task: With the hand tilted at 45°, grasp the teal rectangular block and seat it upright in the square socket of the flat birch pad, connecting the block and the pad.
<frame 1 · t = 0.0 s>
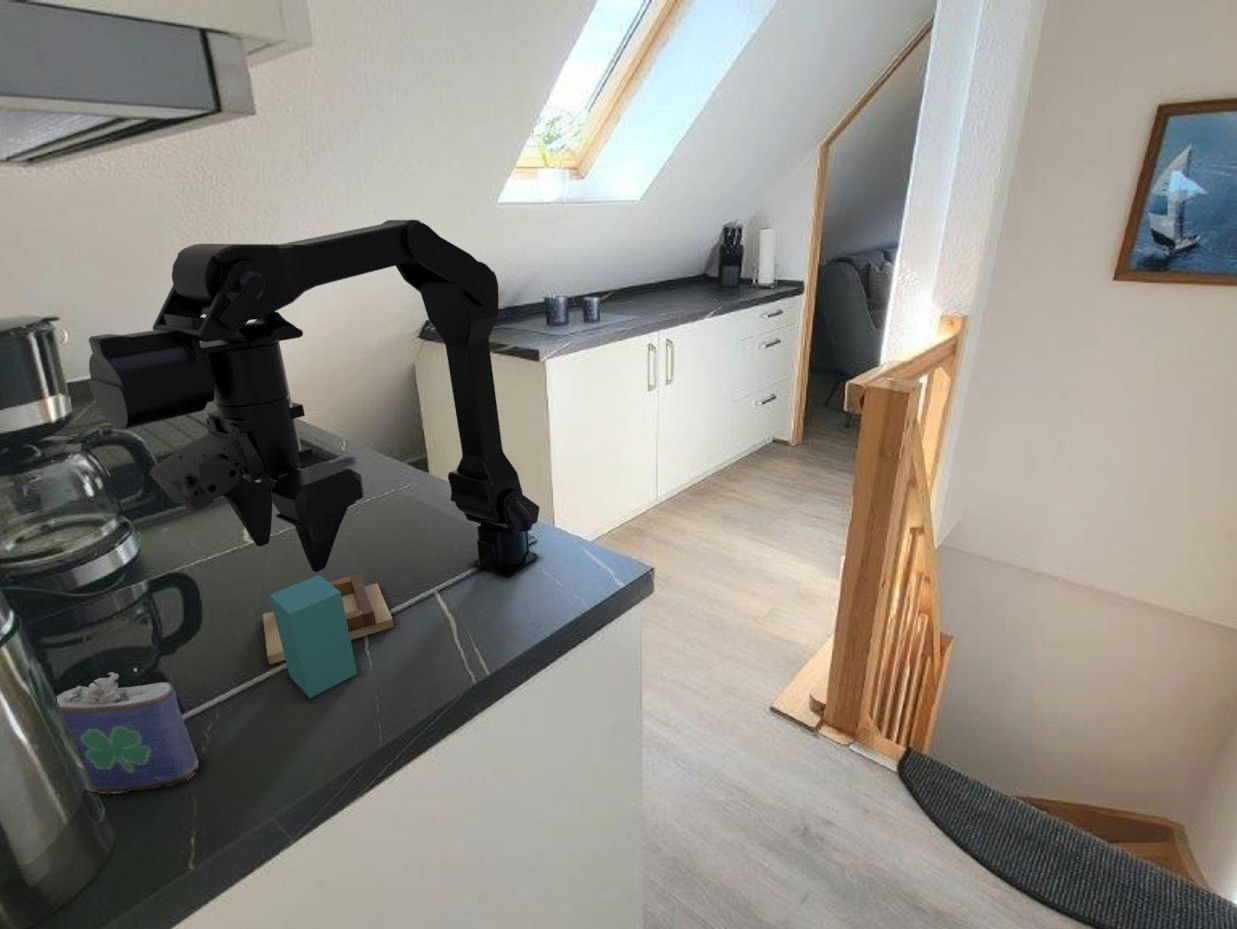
hand: (290, 556, 62), 15 cm above the worktop, tool pointing down, fingers open, 9 cm apart
socket pad: (328, 624, 76), on the worktop
teal rectangular block: (323, 675, 68), on the worktop
flask: (141, 779, 56), on the worktop
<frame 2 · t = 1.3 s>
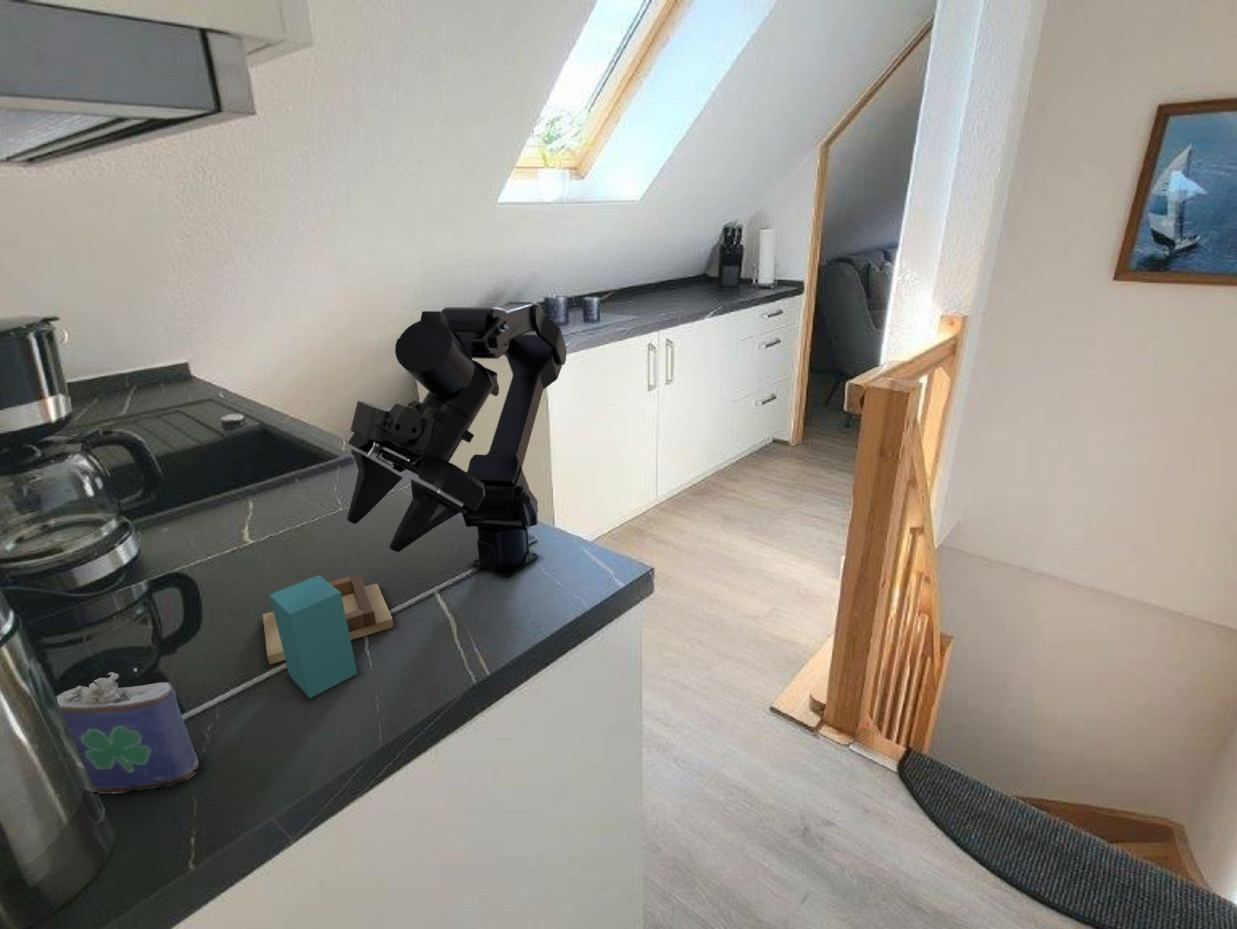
hand: (371, 535, 68), 13 cm above the worktop, tool tilted 45°, fingers open, 9 cm apart
nothing on the worktop moved.
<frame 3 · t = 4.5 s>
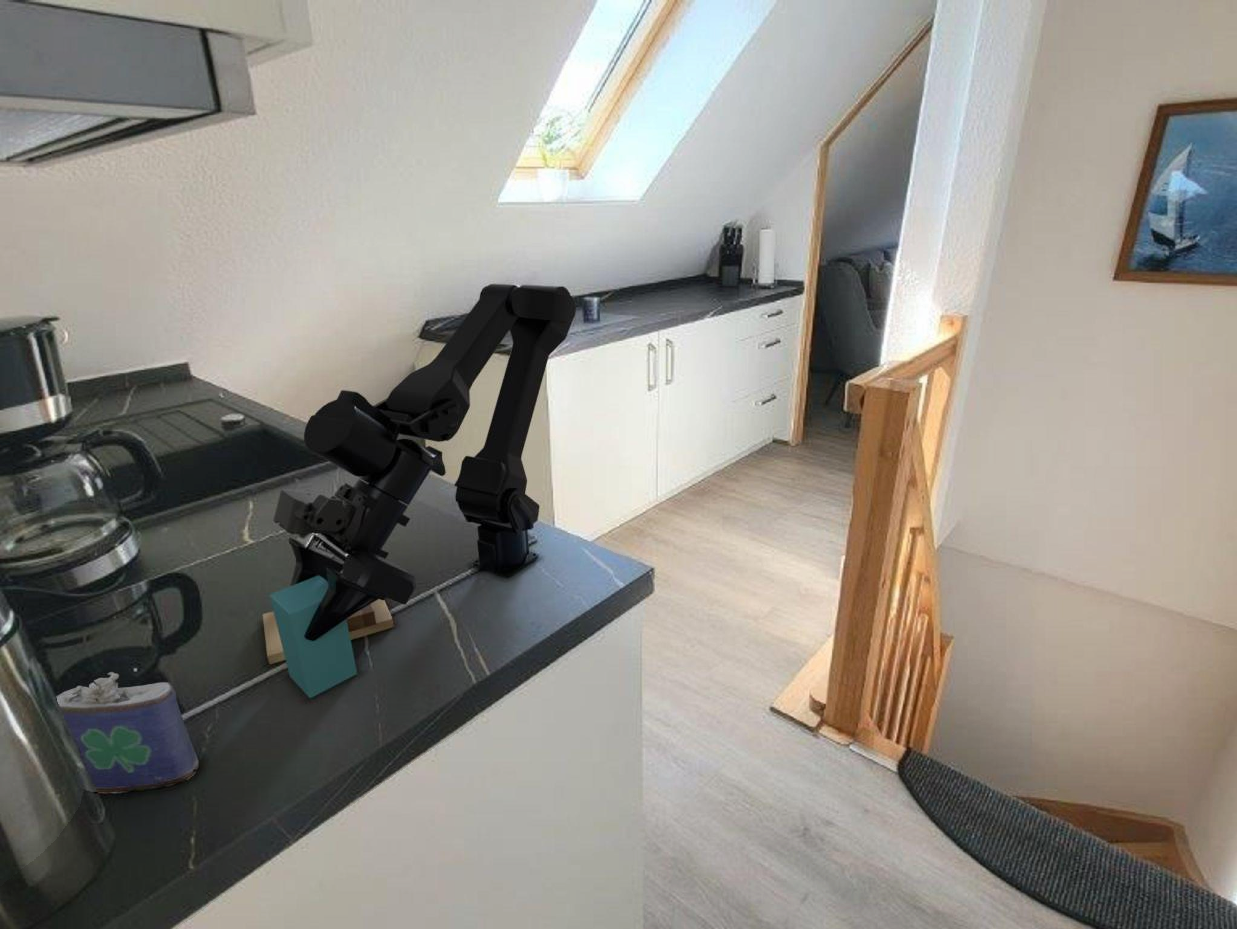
hand: (297, 628, 65), 7 cm above the worktop, tool tilted 45°, fingers closed on teal rectangular block, 5 cm apart
teal rectangular block: (323, 675, 68), on the worktop, touching gripper
everything else where it was.
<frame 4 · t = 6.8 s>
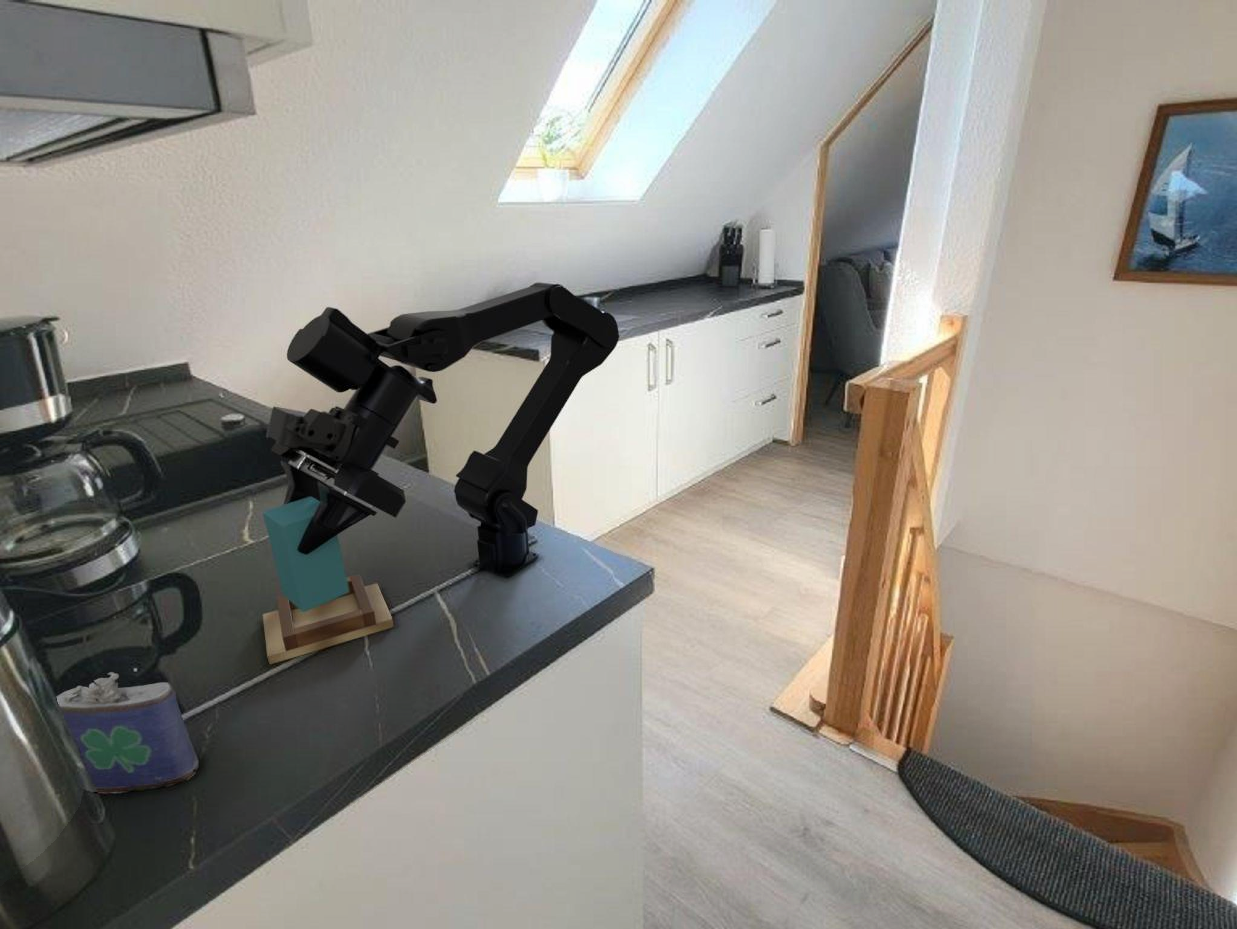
hand: (290, 544, 67), 13 cm above the worktop, tool tilted 45°, fingers closed on teal rectangular block, 5 cm apart
teal rectangular block: (316, 593, 70), point 7 cm above the worktop, touching gripper
everything else where it was.
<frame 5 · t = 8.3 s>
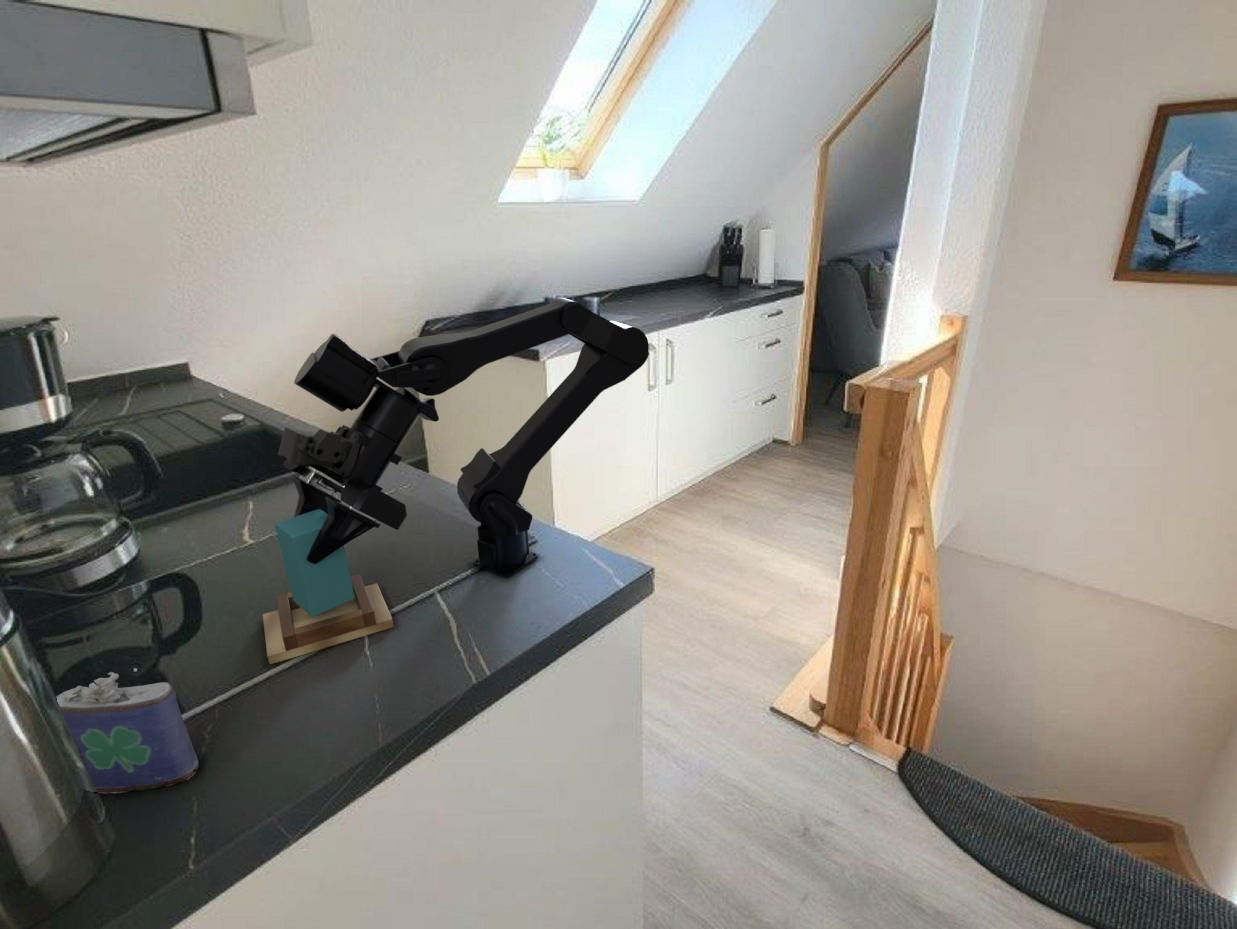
hand: (300, 554, 72), 10 cm above the worktop, tool tilted 45°, fingers closed on teal rectangular block, 5 cm apart
teal rectangular block: (324, 599, 75), point 3 cm above the worktop, touching gripper
everything else where it was.
when the fingers open (8 cm above the worktop, at t = 9.4 s): teal rectangular block stays where it is, resting on socket pad.
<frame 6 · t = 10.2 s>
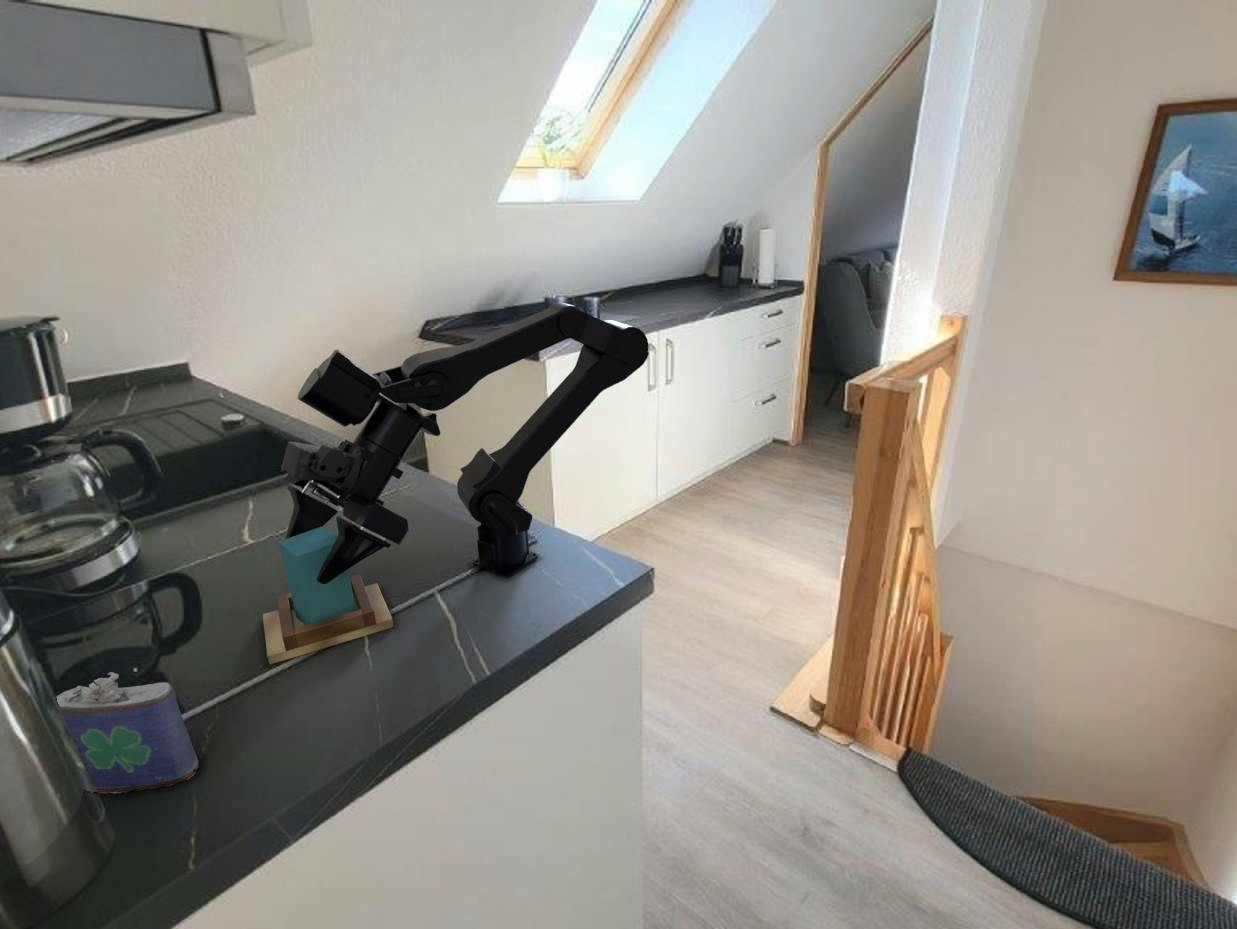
hand: (302, 567, 72), 8 cm above the worktop, tool tilted 45°, fingers open, 9 cm apart
teal rectangular block: (326, 616, 76), point 1 cm above the worktop, touching socket pad
everything else where it was.
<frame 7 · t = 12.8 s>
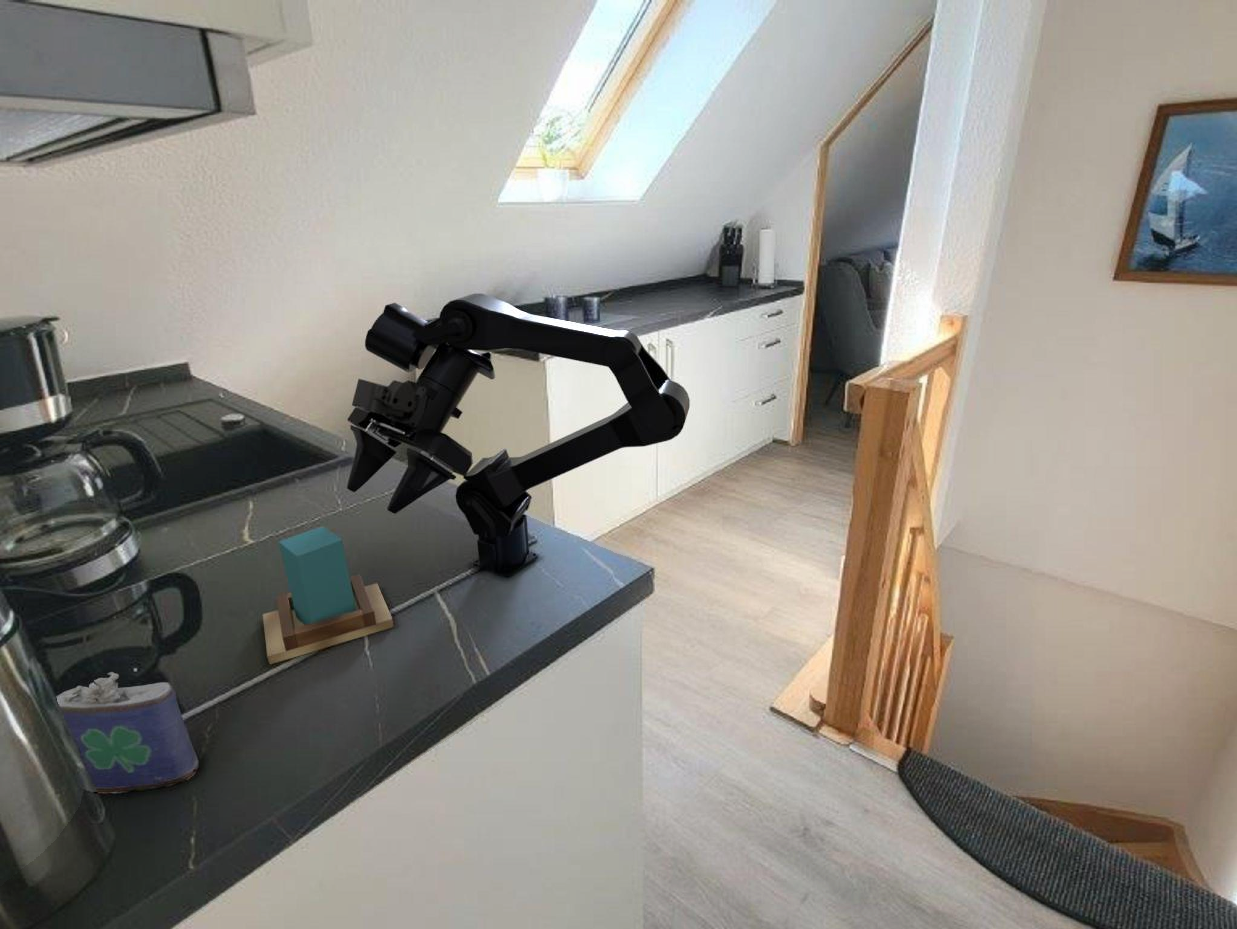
hand: (369, 500, 76), 14 cm above the worktop, tool tilted 45°, fingers open, 9 cm apart
nothing on the worktop moved.
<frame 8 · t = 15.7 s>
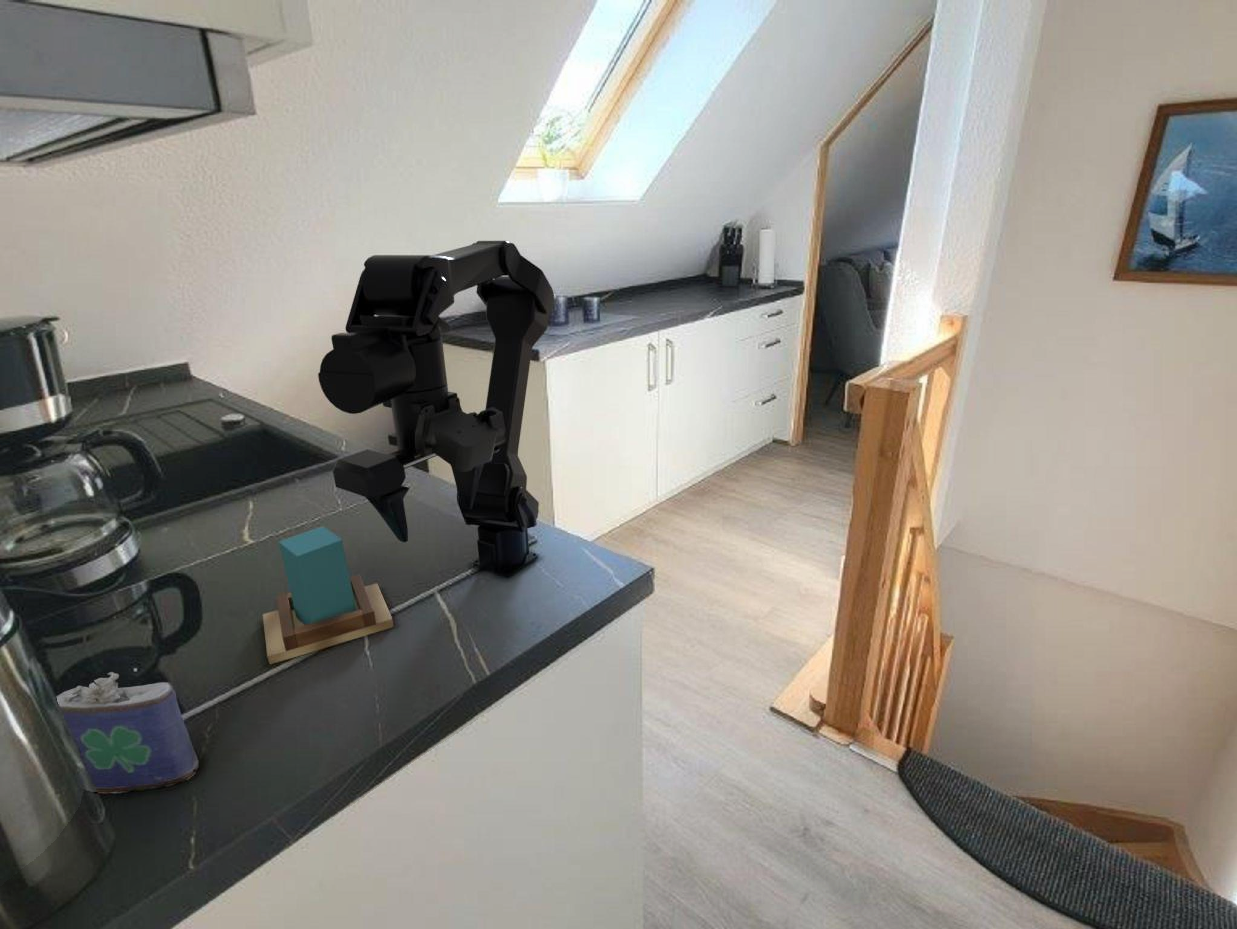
hand: (437, 523, 71), 13 cm above the worktop, tool pointing down, fingers open, 9 cm apart
nothing on the worktop moved.
at the end: teal rectangular block 0.0 cm off-centre on the socket pad, point 1.2 cm above the socket pad's base; teal rectangular block tilted 0° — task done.
